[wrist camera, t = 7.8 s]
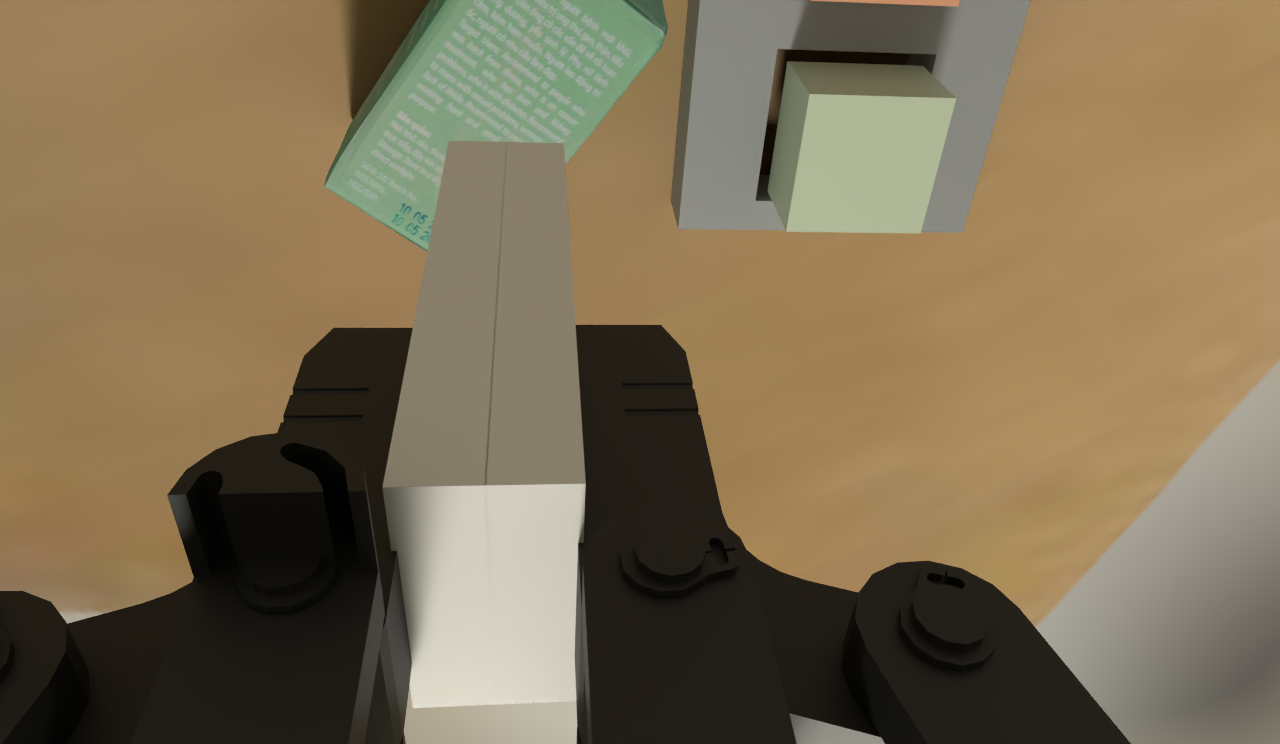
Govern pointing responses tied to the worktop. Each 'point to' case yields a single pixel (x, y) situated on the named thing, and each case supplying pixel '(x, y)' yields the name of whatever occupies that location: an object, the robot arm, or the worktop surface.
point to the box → (487, 93)
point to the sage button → (857, 147)
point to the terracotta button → (904, 2)
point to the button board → (786, 19)
